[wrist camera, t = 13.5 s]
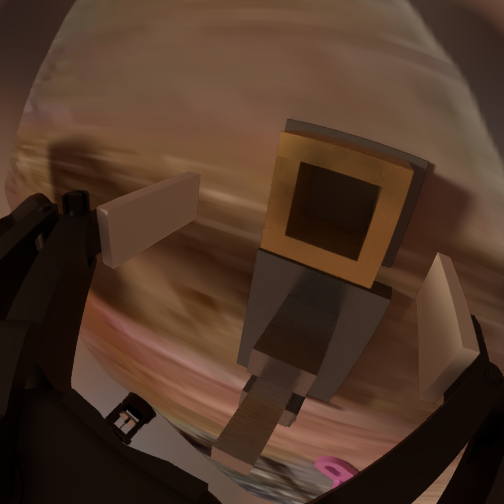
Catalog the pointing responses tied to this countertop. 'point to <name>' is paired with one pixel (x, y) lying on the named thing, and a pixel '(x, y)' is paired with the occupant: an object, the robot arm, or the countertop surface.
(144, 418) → the french press
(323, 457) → the bracket
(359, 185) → the rubber mat
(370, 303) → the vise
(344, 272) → the orange-brown square frame
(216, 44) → the countertop surface
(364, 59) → the countertop surface
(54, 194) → the countertop surface
